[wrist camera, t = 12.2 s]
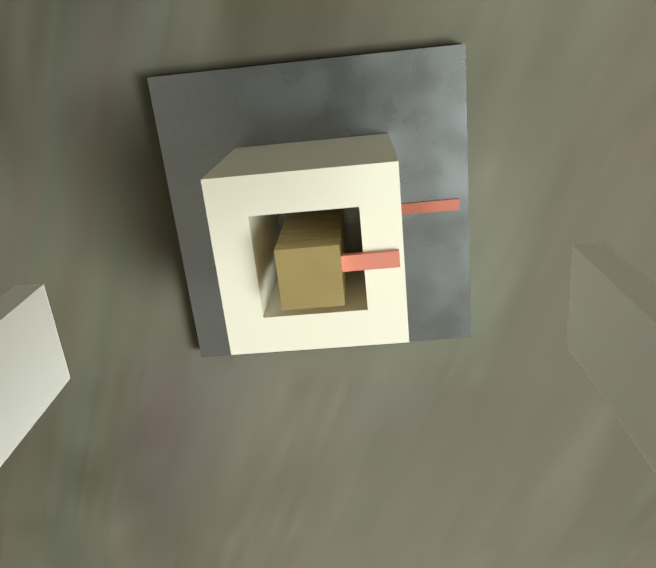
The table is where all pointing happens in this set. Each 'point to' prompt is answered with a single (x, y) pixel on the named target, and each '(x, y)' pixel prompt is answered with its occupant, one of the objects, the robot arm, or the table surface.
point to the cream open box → (263, 232)
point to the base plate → (333, 224)
